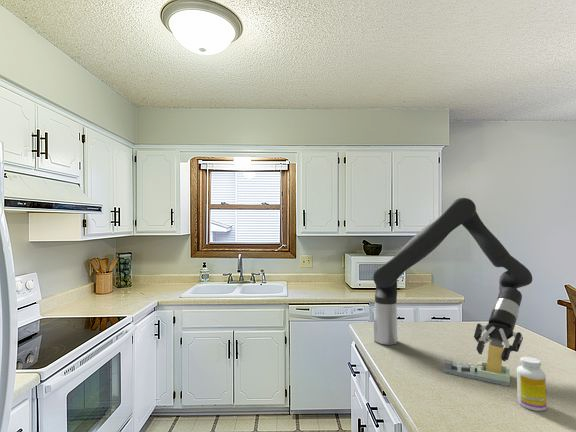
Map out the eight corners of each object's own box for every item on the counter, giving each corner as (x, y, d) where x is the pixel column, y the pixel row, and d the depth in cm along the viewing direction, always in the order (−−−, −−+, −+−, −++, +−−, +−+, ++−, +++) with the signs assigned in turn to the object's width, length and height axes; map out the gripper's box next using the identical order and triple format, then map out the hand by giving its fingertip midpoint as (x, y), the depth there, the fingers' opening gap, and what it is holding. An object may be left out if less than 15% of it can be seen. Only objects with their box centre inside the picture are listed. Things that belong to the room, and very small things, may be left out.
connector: (486, 371, 111) (489, 340, 111) (487, 367, 114) (490, 337, 114) (500, 375, 109) (503, 344, 109) (500, 371, 112) (504, 340, 112)
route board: (443, 372, 116) (443, 363, 116) (447, 363, 123) (447, 354, 123) (510, 386, 105) (509, 376, 105) (509, 375, 113) (509, 365, 113)
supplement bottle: (551, 413, 90) (550, 365, 91) (524, 410, 92) (523, 363, 92) (538, 400, 97) (537, 355, 97) (513, 398, 98) (512, 354, 98)
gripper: (479, 304, 122) (464, 344, 115) (525, 312, 111) (512, 357, 103) (485, 316, 125) (472, 355, 118) (531, 325, 114) (519, 369, 107)
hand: (491, 356), depth 111 cm, fingers open, 6 cm apart
